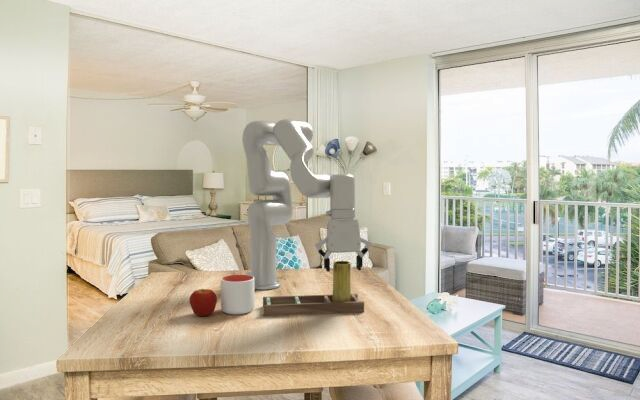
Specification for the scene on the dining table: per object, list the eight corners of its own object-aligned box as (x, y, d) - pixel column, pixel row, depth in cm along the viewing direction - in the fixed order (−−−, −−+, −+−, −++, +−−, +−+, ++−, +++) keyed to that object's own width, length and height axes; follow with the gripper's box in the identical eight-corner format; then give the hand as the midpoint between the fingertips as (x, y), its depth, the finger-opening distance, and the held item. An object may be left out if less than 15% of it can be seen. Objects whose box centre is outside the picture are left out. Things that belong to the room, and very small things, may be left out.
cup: (260, 307, 145) (260, 275, 144) (244, 317, 135) (244, 283, 135) (231, 304, 148) (231, 273, 147) (214, 313, 138) (214, 280, 138)
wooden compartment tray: (262, 306, 146) (262, 296, 146) (356, 302, 150) (356, 293, 150) (263, 315, 136) (263, 305, 136) (364, 311, 141) (364, 302, 141)
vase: (350, 311, 141) (350, 264, 140) (330, 310, 142) (330, 263, 141) (352, 305, 147) (353, 260, 146) (333, 304, 148) (333, 260, 147)
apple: (193, 320, 132) (192, 293, 132) (187, 313, 139) (186, 287, 138) (220, 316, 136) (219, 290, 135) (213, 309, 143) (212, 284, 142)
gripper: (316, 216, 138) (317, 273, 139) (373, 214, 140) (373, 271, 141) (313, 214, 145) (313, 269, 146) (367, 213, 148) (367, 266, 149)
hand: (343, 270), depth 144 cm, fingers open, 9 cm apart
